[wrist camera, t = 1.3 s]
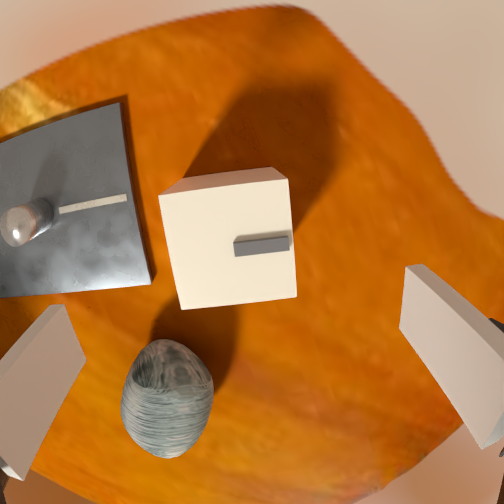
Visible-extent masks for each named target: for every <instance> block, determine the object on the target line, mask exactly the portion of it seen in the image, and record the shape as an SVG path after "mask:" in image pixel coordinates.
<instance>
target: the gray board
mask: <svg viewBox="0 0 504 504" xmlns="http://www.w3.org/2000/svg"><path fill="white" fill-rule="evenodd" d="M152 282H153V277H152V273H151V269H150V264H149V260H148V255H147V251H146V246H145V242H144V237H143V232H142V227H141V222H140V217H139V212H138V207H137V201H136V196H135V190H134V184H133V178H132V172H131V165H130V159H129V152H128V145H127V138H126V130H125V122H124V113H123V104H122V103H115V104H111V105H108V106H104V107H100V108H97V109H93V110H90V111H87V112H83V113H80V114H77V115H74V116H71V117H68V118H65V119H62V120H59V121H56V122H53V123H50V124H47V125H45V126H42V127H39V128H36V129H34V130H31V131H29V132H26V133H24V134H21V135H19V136H16V137H14V138H11V139H9V140H7V141H4V142H2V143H0V298H6V297H18V296H31V295H42V294H54V293H65V292H76V291H87V290H98V289H108V288H118V287H128V286H138V285H148V284H152Z"/></svg>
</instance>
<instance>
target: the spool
mask: <svg viewBox="0 0 504 504" xmlns="http://www.w3.org/2000/svg"><path fill="white" fill-rule="evenodd" d="M213 392H214V387H213V381H212V376H211V374H210V372H209V370H208V369H207V367H206V365H205V364H204V363H203V362H202V361H201V359H200V358H199V357H198V356H197V355H195V354H194V353H193V352H192V351H191V350H190V349H188V348H187V347H186V346H184V345H183V344H180V343H178V342H175V341H173V340H168V339H160V340H156V341H153V342H151V343H149V344H148V345H147V346H146V347H145V348H143V349H142V350H141V351H140V353H139V354H138V356H137V358H136V359H135V361H134V363H133V364H132V366H131V368H130V371H129V373H128V375H127V378H126V382H125V385H124V389H123V393H122V399H121V417H122V420H123V423H124V426H125V428H126V430H127V431H128V433H129V435H130V436H131V437H132V439H133V440H134V441H135V442H136V443H137V444H138V445H139V446H141V447H142V448H143V449H145V450H146V451H148V452H149V453H151V454H153V455H155V456H159V457H162V458H173V457H177V456H180V455H181V454H183V453H185V452H186V451H187V450H188V449H190V448H191V447H192V446H193V445H194V444H195V442H196V441H197V440H198V438H199V437H200V435H201V434H202V432H203V430H204V428H205V426H206V424H207V421H208V418H209V415H210V411H211V407H212V403H213Z"/></svg>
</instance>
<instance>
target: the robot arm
mask: <svg viewBox="0 0 504 504" xmlns="http://www.w3.org/2000/svg"><path fill="white" fill-rule="evenodd" d="M399 329H400V331H401V332H402V333H403V335H404V336H405V337H406V339H407V340H408V341H409V343H410V344H411V345H412V347H413V348H414V350H415V351H416V352H417V354H418V355H419V357H420V358H421V359H422V361H423V362H424V364H425V365H426V366H427V368H428V369H429V371H430V372H431V374H432V375H433V377H434V378H435V379H436V381H437V382H438V384H439V385H440V387H441V388H442V390H443V391H444V393H445V394H446V396H447V397H448V399H449V400H450V402H451V403H452V405H453V406H454V408H455V409H456V411H457V412H458V414H459V415H460V417H461V418H462V420H463V421H464V423H465V425H466V426H467V427H468V429H469V431H470V432H471V434H472V436H473V437H474V438H475V440H476V442H477V444H478V445H479V447H480V449H481V450H482V449H483V448H485V447H487V446H489V445H491V444H493V443H495V442H497V441H499V440H500V439H501V438H502V436H503V434H504V324H502V323H500V322H498V321H496V320H494V319H492V318H490V319H488V318H487V317H485V316H484V315H483V314H482V313H481V312H480V311H479V310H478V309H476V308H475V307H474V306H473V305H472V304H471V303H470V302H468V301H467V300H466V299H465V298H464V297H463V296H461V295H460V294H459V293H458V292H457V291H455V290H454V289H453V288H452V287H451V286H449V285H448V284H447V283H446V282H445V281H443V280H442V279H441V278H440V277H439V276H437V275H436V274H435V273H434V272H432V271H431V270H430V269H429V268H427V267H426V266H425V265H424V264H418V265H411V266H406V269H405V281H404V292H403V301H402V310H401V318H400V326H399ZM85 362H86V357H85V355H84V353H83V351H82V348H81V346H80V344H79V341H78V339H77V336H76V334H75V331H74V329H73V326H72V324H71V321H70V319H69V316H68V313H67V311H66V308H65V305H64V304H58V305H50V306H49V307H48V308H47V309H46V310H45V311H44V312H43V313H42V314H41V315H40V316H39V317H38V318H37V319H36V320H35V321H34V323H33V324H32V325H31V326H30V327H29V328H28V329H27V330H26V331H25V332H24V334H23V335H22V336H21V337H20V338H19V339H18V340H17V341H16V343H15V344H14V345H13V346H12V347H11V348H10V349H9V351H8V352H7V353H6V354H5V355H4V356H3V358H2V359H1V360H0V504H6V501H5V497H4V493H3V492H4V490H5V487H6V485H7V483H8V480H9V478H10V476H11V477H14V478H16V479H19V480H22V481H24V479H25V477H26V475H27V472H28V470H29V468H30V466H31V464H32V462H33V460H34V458H35V456H36V453H37V451H38V449H39V447H40V445H41V443H42V441H43V439H44V437H45V435H46V433H47V431H48V429H49V427H50V425H51V424H52V422H53V420H54V418H55V416H56V414H57V412H58V410H59V408H60V407H61V405H62V403H63V401H64V399H65V397H66V395H67V394H68V392H69V390H70V388H71V386H72V385H73V383H74V381H75V379H76V378H77V376H78V374H79V372H80V371H81V369H82V367H83V365H84V364H85ZM503 455H504V448H503V449H502V451H501V453H500V455H499V457H502V456H503ZM497 504H504V476H503V480H502V485H501V489H500V493H499V497H498V501H497Z"/></svg>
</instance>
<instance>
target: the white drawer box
mask: <svg viewBox="0 0 504 504" xmlns="http://www.w3.org/2000/svg"><path fill="white" fill-rule="evenodd" d="M159 202H160V208H161V214H162V219H163V225H164V230H165V235H166V240H167V245H168V250H169V255H170V260H171V265H172V270H173V274H174V279H175V284H176V288H177V293H178V297H179V301H180V306H181V310H186V309H196V308H206V307H216V306H225V305H235V304H243V303H252V302H260V301H269V300H276V299H284V298H292V297H297V290H296V274H295V259H294V245H293V232H292V219H291V207H290V195H289V184H288V178H286V177H285V176H284V175H282V174H281V173H280V172H279V171H277V170H276V169H275V168H273V167H265V168H256V169H247V170H238V171H230V172H222V173H215V174H208V175H200V176H194V177H187V178H182V179H181V180H179V181H178V182H176V183H175V184H174V185H172V186H171V187H169V188H168V189H167V190H165V191H164V192H163V193H161V194H160V195H159Z"/></svg>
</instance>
